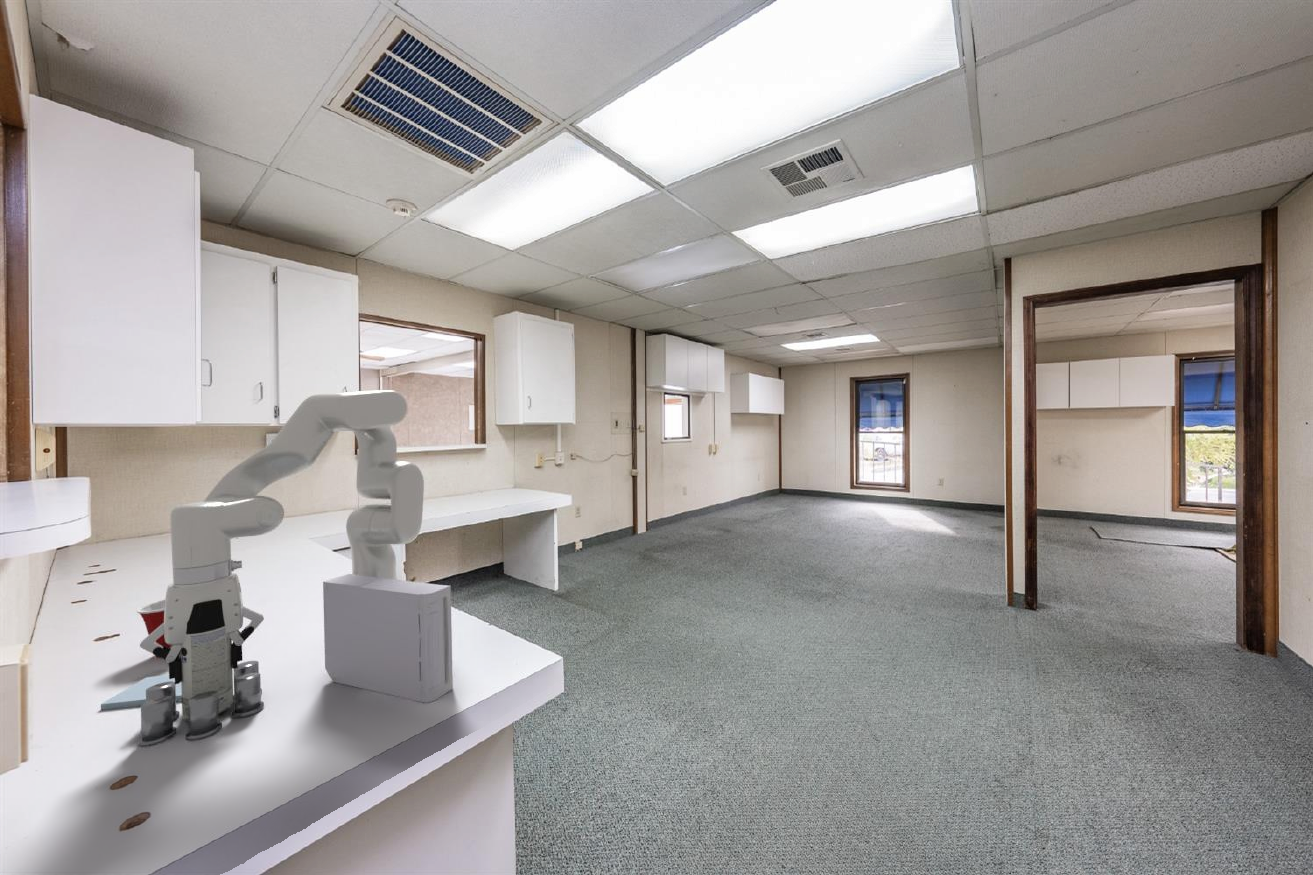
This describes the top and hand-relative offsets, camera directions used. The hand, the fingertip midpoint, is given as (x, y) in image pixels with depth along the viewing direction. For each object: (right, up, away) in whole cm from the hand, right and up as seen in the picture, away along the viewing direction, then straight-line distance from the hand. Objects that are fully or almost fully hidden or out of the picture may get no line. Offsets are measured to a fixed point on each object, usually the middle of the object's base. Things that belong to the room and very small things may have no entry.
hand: (207, 672), depth 85 cm
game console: (+27, -7, +9) cm, 29 cm away
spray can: (0, -7, 0) cm, 7 cm away
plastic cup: (-32, -8, +26) cm, 42 cm away
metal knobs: (0, -7, 0) cm, 8 cm away
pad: (-16, -8, +8) cm, 20 cm away
